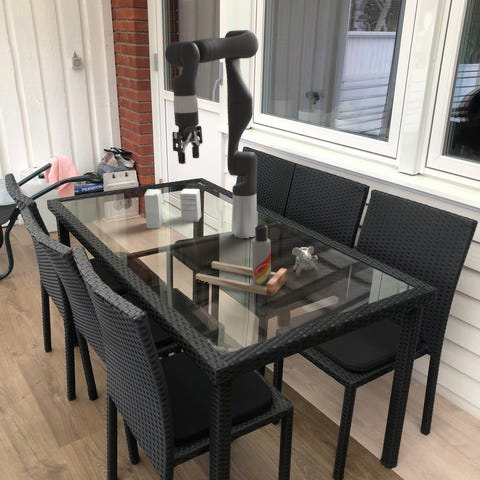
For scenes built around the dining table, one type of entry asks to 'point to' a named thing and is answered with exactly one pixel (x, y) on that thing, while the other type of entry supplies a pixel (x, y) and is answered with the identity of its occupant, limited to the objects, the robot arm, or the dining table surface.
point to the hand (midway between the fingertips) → (189, 160)
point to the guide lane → (269, 290)
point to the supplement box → (190, 205)
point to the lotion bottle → (261, 256)
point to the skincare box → (153, 208)
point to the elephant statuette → (304, 259)
